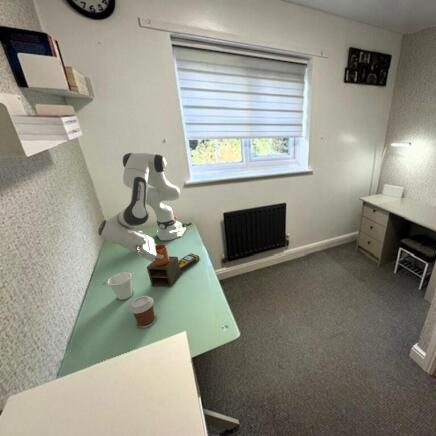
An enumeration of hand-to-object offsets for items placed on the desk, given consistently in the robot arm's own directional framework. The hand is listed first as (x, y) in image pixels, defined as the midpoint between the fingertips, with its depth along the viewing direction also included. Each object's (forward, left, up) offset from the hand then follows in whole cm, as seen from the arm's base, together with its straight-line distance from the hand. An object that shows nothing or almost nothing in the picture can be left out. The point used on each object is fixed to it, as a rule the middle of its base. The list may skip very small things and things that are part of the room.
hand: (162, 253), depth 126 cm
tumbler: (0, -1, -5) cm, 5 cm away
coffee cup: (+29, +6, -17) cm, 35 cm away
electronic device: (-15, +3, -17) cm, 23 cm away
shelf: (0, -1, -17) cm, 17 cm away
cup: (+14, -15, -17) cm, 27 cm away
